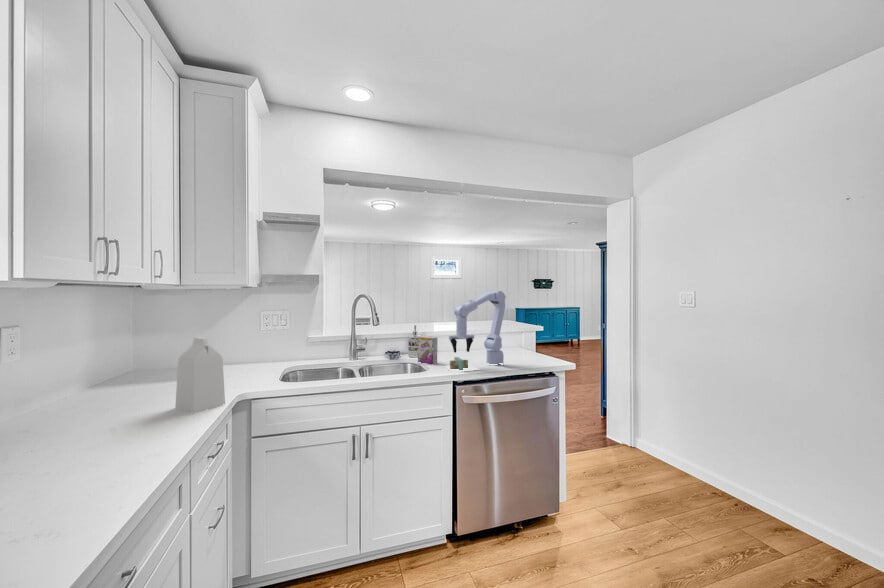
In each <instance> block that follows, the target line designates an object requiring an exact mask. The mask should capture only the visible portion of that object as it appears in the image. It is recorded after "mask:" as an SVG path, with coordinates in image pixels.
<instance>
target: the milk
mask: <svg viewBox="0 0 884 588" xmlns="http://www.w3.org/2000/svg"><path fill="white" fill-rule="evenodd" d="M223 360H224V359H223V356H222V355H221V354H220V353H219V352H217V350H215V349H214V348H213V347H212V346H211V345H209V341H208V338H207V337H194V338H193V342H192V345H191V346H189V347H188V348H187V349H186V350H185V351H184V352H183V353H182V354H181V355H180V356H179V358H178V360H177V375H176V393H175V406H174V408H175V409H176V408H177V410H180V411H183V410H185V412H187V411H189V412H188V413H191V412H193V413H192V414H196V413H195V412H197V413H200V412H199V411H201V412H204V411H207V410H206V409H208V410H211V409H210V408H212V409H214V408H213V407H215V408H217V407H216V406H219V407H221V406H220V405H222V406H224V405H223V404H225V405H226V396H225V395H226V394H225V379H224V378H225V377H224V361H223ZM203 410H204V411H203Z"/></svg>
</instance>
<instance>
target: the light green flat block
mask: <svg viewBox="0 0 884 588" xmlns="http://www.w3.org/2000/svg"><path fill="white" fill-rule="evenodd" d="M453 360H456V365H458V369H459V370H463V361H464V360H465V359H462V358H460V357H458V356H454V359H453Z"/></svg>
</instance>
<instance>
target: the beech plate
mask: <svg viewBox="0 0 884 588" xmlns="http://www.w3.org/2000/svg"><path fill="white" fill-rule="evenodd" d="M463 360H464V361H463V368H468V364H469V360H468V359H463ZM449 365H450V369H458V365H456V360H454V359H453V360H449Z"/></svg>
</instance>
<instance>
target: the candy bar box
mask: <svg viewBox="0 0 884 588" xmlns="http://www.w3.org/2000/svg"><path fill="white" fill-rule="evenodd" d="M417 343H418V344H417V348H418V349H417V363H418V362H421V363H427V365H432V364H433V365H436V364H435V363H437V364H438V337H437V336H426V335H420V336H417Z"/></svg>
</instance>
